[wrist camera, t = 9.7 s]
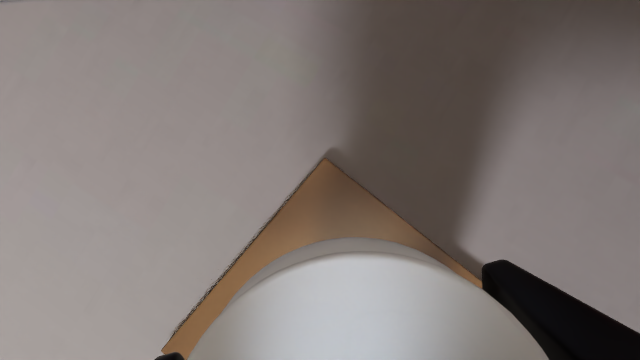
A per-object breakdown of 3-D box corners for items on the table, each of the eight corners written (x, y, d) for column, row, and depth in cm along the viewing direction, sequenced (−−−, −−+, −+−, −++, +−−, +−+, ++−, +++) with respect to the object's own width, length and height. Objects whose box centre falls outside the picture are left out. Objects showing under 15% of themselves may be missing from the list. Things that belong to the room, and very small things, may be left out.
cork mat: (521, 315, 17) (527, 316, 17) (362, 538, 16) (363, 546, 16) (325, 160, 19) (325, 156, 19) (164, 349, 18) (159, 351, 17)
